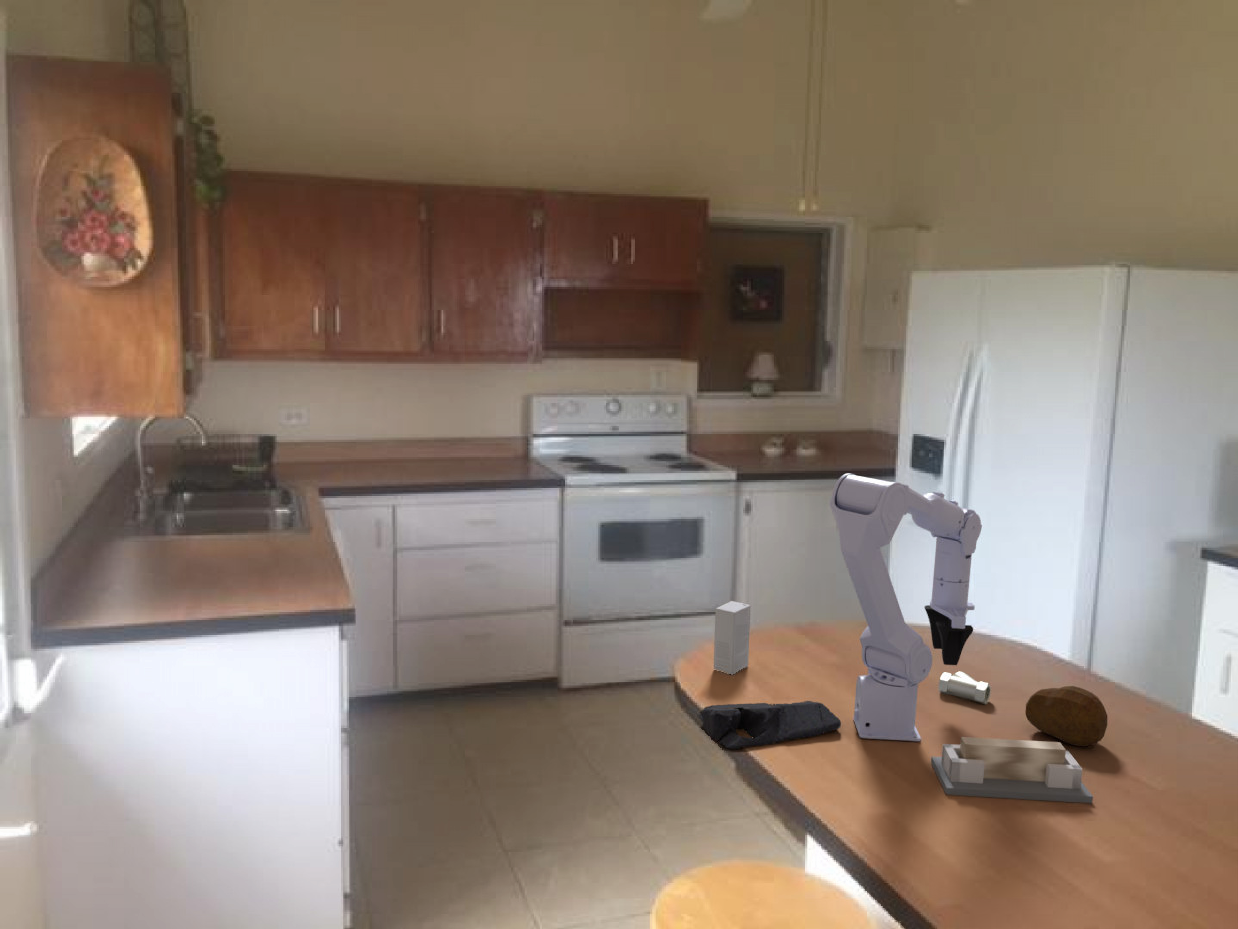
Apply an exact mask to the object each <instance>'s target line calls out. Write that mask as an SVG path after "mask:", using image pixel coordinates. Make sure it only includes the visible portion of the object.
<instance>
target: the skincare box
mask: <svg viewBox="0 0 1238 929" xmlns="http://www.w3.org/2000/svg"><path fill="white" fill-rule="evenodd" d="M714 610H715V617H714V618H715V619H714V620H715V621H714V643H713V644H714V646H713V648H714V649H713V670H714V669H716V670H719V671H723V672H725V673H728V674H727V675H729V674H731V675H730V676H733V674H734V675H735V674H737V673H739V672H740V671H742V670H744V669H745V668H747V667H748V666H749V654H750V653H749V652H750V627H751V604H746V603H743V602H738V601H734V600H730V601H729V602H727V603H724V604H723V605H720V606H718V607H716V608H715V609H714ZM743 668H744V669H743ZM741 669H742V670H741ZM739 670H740V671H739ZM738 671H739V672H738ZM736 672H737V673H736ZM725 673H724V674H725Z"/></svg>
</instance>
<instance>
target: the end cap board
mask: <svg viewBox="0 0 1238 929" xmlns="http://www.w3.org/2000/svg"><path fill="white" fill-rule="evenodd" d="M941 750H942V751H941V756H931V757H930V760H931V761H930V764H931V766H932V768H933V770H934V772H935V774H936V777H937V778H938V780H939V783H940V784H941V788H942V789H943V791H944V793H945V795H947V796H948V795H949V796H965V797H981V798H999V799H1014V800H1015V799H1017V800H1030V801H1031V800H1034V801H1047V802H1048V801H1050V802H1051V801H1052V802H1064V803H1066V802H1067V803H1083V804H1084V803H1085V804H1093V799H1094V795H1092V793H1091V792H1090V791H1089V789H1088V788H1087V786H1086V785H1085V784H1084V782H1083V780H1082V778H1083V768H1082V766H1081V765H1080V764H1079V763H1078V762H1077V760H1076V759H1075V758H1074V757H1073V755H1072V754H1071V753H1070V751H1069V750H1066V753H1065V762H1064V765H1062V764H1047V769H1046V779H1045V782H1042V781H1025V780H1008V779H991V778H983V776H984V766H985V763H984V762H983V760H975V759H959V756H960V744H951V743H949V744H948V743H943V744H942V749H941Z"/></svg>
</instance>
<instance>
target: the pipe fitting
mask: <svg viewBox="0 0 1238 929" xmlns="http://www.w3.org/2000/svg"><path fill="white" fill-rule="evenodd" d="M938 692H940V694H945V695H948V696H950V695H951V696H955V697H957V698H958V697H959V698H963V699H966V700H970V701H974V702H976V703H979V704H982V705H987V704H988V703H989V701H990V698H991V694H992V686H991V684H990V683H988V682H986V681H985V682H984V681H977V680H976V679H974V678H973V677H971V676H970V675H969V674H967V673H965V672H964V671H957V672H955V673H954V674H952V673H950V672H943V673H942V674H941V676H940V677H939V681H938Z"/></svg>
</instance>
